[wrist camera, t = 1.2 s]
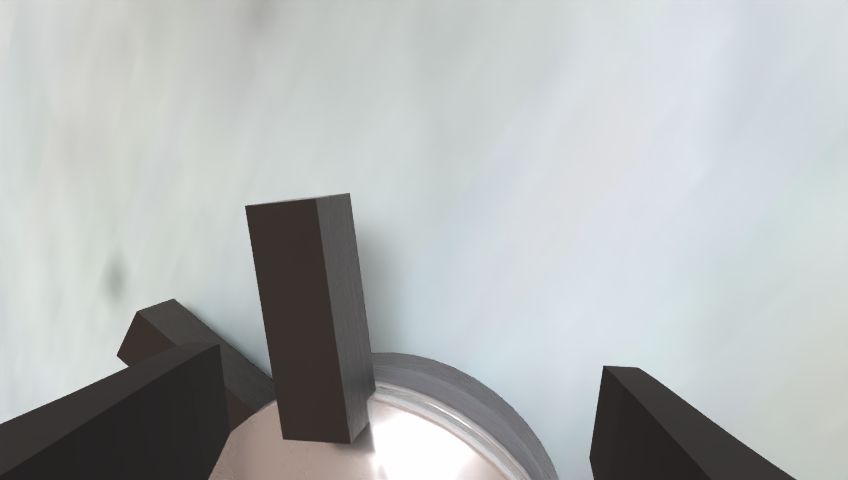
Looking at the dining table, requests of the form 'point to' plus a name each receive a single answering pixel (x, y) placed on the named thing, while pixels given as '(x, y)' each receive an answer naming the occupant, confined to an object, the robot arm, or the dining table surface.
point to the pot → (391, 372)
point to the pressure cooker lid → (335, 370)
